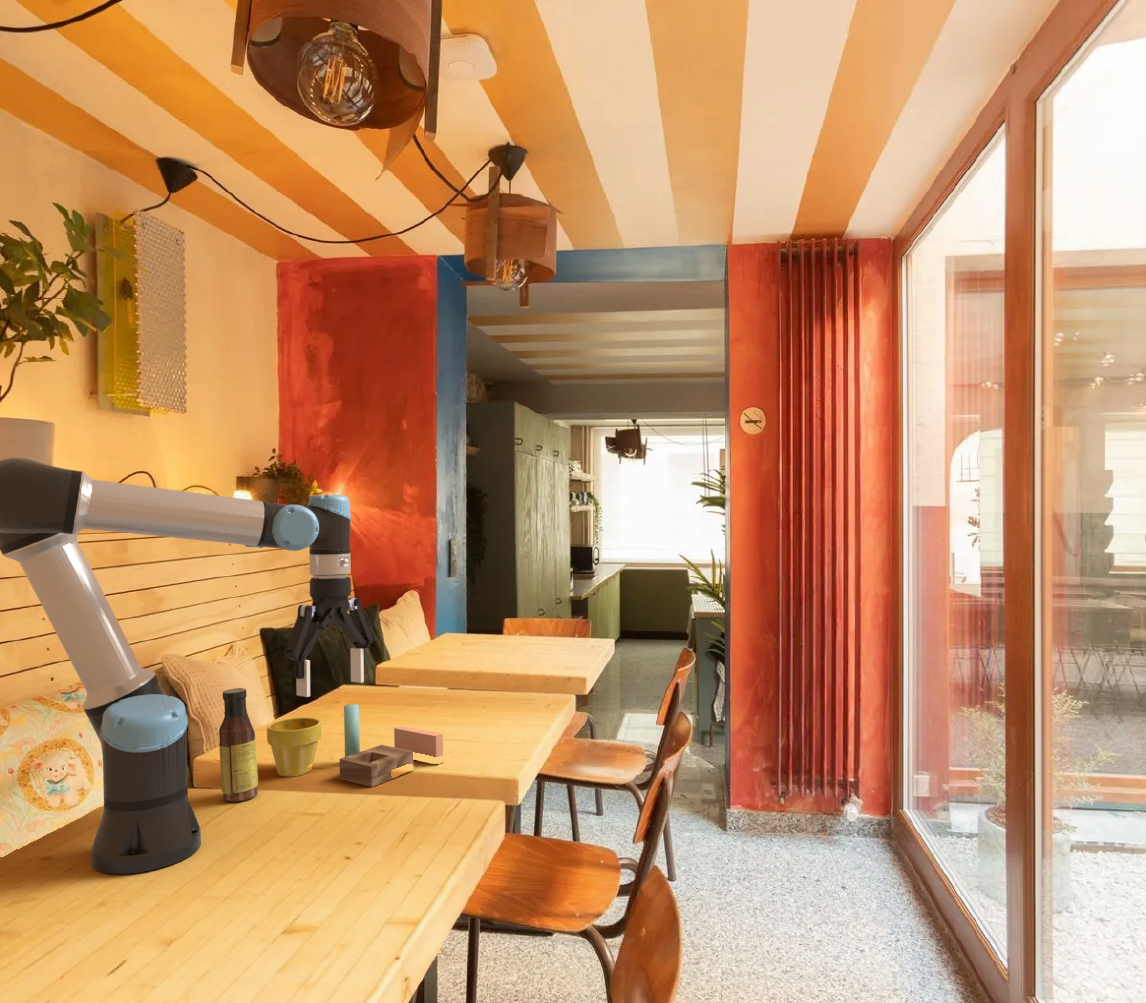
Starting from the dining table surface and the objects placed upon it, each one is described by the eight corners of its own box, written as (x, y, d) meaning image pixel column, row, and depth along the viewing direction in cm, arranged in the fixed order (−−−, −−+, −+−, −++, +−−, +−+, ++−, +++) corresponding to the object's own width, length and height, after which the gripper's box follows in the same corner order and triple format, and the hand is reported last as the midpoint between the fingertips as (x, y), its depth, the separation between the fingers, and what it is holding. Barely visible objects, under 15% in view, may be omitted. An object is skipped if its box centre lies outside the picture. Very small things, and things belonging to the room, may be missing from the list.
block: (371, 787, 158) (371, 766, 158) (339, 778, 163) (339, 759, 163) (413, 770, 167) (413, 751, 167) (382, 763, 172) (381, 744, 172)
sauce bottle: (264, 791, 156) (262, 686, 156) (248, 804, 150) (245, 693, 150) (231, 791, 157) (228, 686, 157) (213, 803, 151) (211, 693, 151)
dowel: (351, 767, 170) (350, 708, 170) (341, 764, 172) (340, 706, 172) (363, 763, 173) (362, 705, 173) (353, 760, 174) (352, 703, 174)
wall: (436, 765, 170) (435, 736, 170) (394, 756, 177) (394, 728, 177) (443, 762, 172) (442, 733, 172) (401, 754, 178) (401, 726, 178)
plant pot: (312, 780, 163) (311, 729, 163) (259, 780, 163) (258, 730, 163) (328, 763, 173) (327, 716, 173) (279, 763, 173) (278, 716, 173)
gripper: (292, 582, 145) (293, 704, 145) (390, 572, 167) (391, 678, 167) (262, 581, 149) (263, 700, 149) (362, 570, 170) (363, 674, 170)
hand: (331, 688), depth 158 cm, fingers open, 13 cm apart
